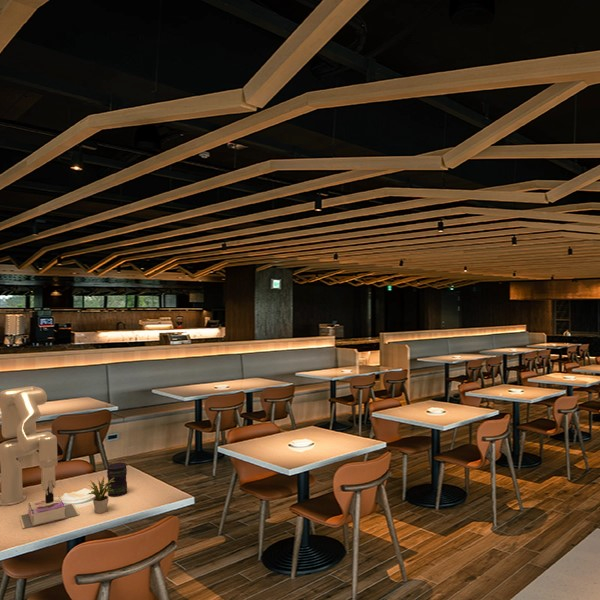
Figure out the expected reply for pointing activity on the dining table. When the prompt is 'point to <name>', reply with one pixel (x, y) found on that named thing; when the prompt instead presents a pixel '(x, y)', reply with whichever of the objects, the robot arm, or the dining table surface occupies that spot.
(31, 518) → the candy box
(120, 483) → the rusty oil drum
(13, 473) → the robot arm
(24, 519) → the mat
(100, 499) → the house plant
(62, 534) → the dining table surface
